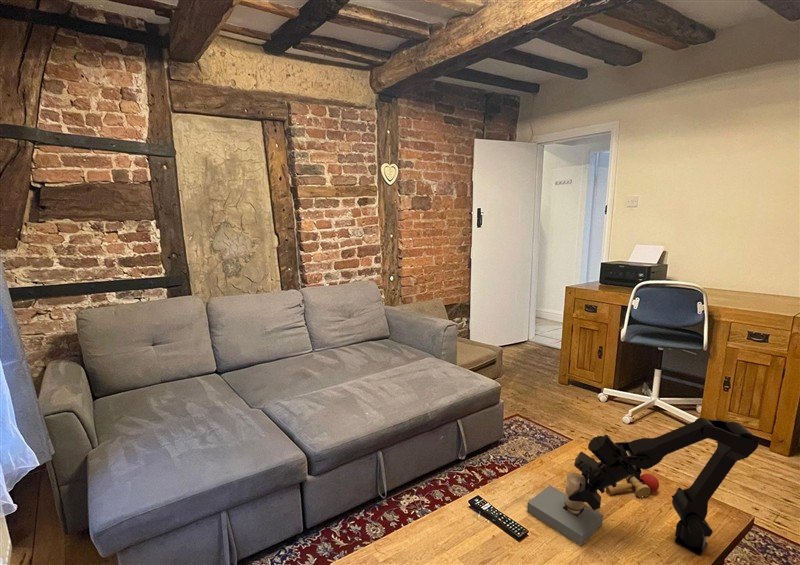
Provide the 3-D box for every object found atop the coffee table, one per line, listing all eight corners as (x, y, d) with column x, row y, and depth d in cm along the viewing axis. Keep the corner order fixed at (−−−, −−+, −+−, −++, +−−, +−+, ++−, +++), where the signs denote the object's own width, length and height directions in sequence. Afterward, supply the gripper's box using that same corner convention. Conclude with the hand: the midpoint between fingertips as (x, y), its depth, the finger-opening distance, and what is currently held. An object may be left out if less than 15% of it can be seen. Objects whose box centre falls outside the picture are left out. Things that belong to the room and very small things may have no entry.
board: (601, 524, 129) (602, 514, 128) (581, 546, 121) (582, 535, 120) (549, 494, 143) (549, 485, 142) (527, 511, 134) (527, 502, 134)
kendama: (616, 507, 138) (666, 495, 140) (613, 488, 138) (663, 477, 140) (603, 495, 146) (650, 484, 148) (600, 477, 146) (647, 466, 148)
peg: (586, 514, 131) (589, 478, 128) (577, 522, 127) (580, 486, 125) (569, 504, 135) (572, 469, 133) (560, 512, 131) (563, 477, 129)
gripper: (595, 434, 133) (556, 456, 140) (590, 466, 117) (547, 489, 124) (620, 463, 131) (580, 484, 138) (619, 500, 115) (573, 521, 122)
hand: (570, 493), depth 131 cm, fingers closed on peg, 5 cm apart
